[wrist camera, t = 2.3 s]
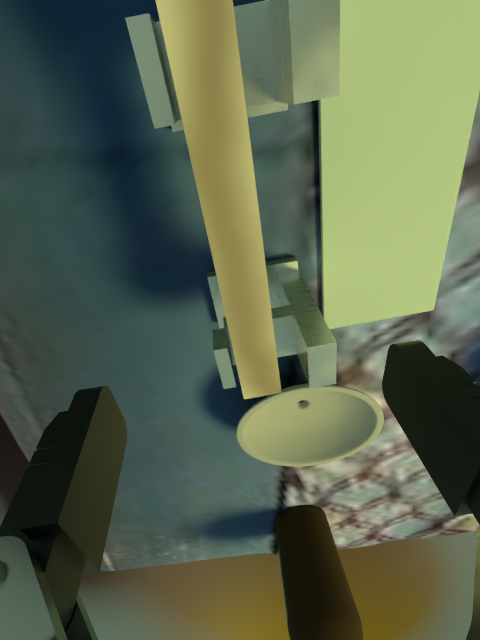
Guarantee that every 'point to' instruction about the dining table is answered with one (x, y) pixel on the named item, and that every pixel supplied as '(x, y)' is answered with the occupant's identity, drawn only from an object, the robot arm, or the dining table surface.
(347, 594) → the olive oil
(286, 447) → the dish
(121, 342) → the dining table surface
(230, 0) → the birch batten
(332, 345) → the hook rack
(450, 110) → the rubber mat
